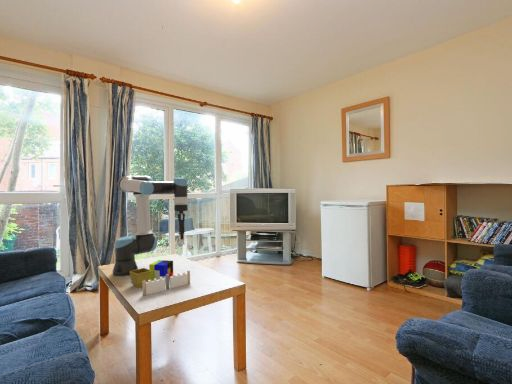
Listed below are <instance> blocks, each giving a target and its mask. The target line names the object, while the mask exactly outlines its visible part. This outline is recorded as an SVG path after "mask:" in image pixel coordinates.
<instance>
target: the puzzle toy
mask: <svg viewBox="0 0 512 384" xmlns="http://www.w3.org/2000/svg"><path fill="white" fill-rule="evenodd" d="M148 266H149V268H148V269H149V270H151V278H150V280H151V281H154V279H155V278H156V279H157V280H159V279H160V277H162V279H163V278H165V281H166V274H169V279H170V277H172V276H173V274H174V260H168V259H167V260H164V259H163V260H162V259H158V260H156V261H154V262H152V263H150V264H149V265H148Z"/></svg>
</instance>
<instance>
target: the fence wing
mask: <svg viewBox="0 0 512 384" xmlns="http://www.w3.org/2000/svg"><path fill="white" fill-rule="evenodd" d="M189 284H191V271H190V270H189V269H188V270H186V271H183V272H182V273H180V272H177V274H175V273H173V276H172V277H170V278H169V289H174V288H179V287H181V286H184V285H189Z"/></svg>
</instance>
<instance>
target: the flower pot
mask: <svg viewBox="0 0 512 384" xmlns="http://www.w3.org/2000/svg"><path fill="white" fill-rule="evenodd" d="M129 277H130V281H131V284H132V286H133V287H135V288H142V281H146V283H147V282H148V280H150V278H151V270H149V268H145V267H143V268H138V269H137V270H133V271H130V275H129Z"/></svg>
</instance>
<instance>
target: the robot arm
mask: <svg viewBox="0 0 512 384" xmlns="http://www.w3.org/2000/svg"><path fill="white" fill-rule="evenodd" d="M117 187H118V189H119V190H120V191H121V192H122V193H123V192H124V193H133V197H135V203H136V205H135V206H136V222H137V223H136V224H137V225H136V226H137V232H136V233H135V236H134V235H128V236H121V237H119V238H117V239H116V240H115V241H114V258H115V262H114V265H113V269H112V275H113V276H117V277H122V276H123V277H124V276H130V271H133V270H137V269H139V267H138V264H137V262H136V260H135V259H136V257H135V256H136V255H141V254H146V253H147V254H148V253H152V252H153V251H155V250H156V248H157V246H158V238H157V236H156V234H154V232H153V231H152V229H151V228H152V227H151V213H150V212H151V211H150V210H151V209H150V208H151V207H150V196H152V195H153V196H154V195H173V197H174V198H173V199H172V200H173V201H174V202H173V203H174V208H173V209H174V211H175V212H178V213H177V221H178V242H179V243H178V244H179V246H183V245H185V232H186V231H185V217H186V214H185V212H187V211H188V209H189V207H188V203H189V200H188V199H189V198H188V179H187V178H185V177H175V178H173V181H154V180H153V178H152V177H151V176H149V175H129V174H128V175H124V176H122V177H120V178H119V179H118V181H117Z"/></svg>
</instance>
